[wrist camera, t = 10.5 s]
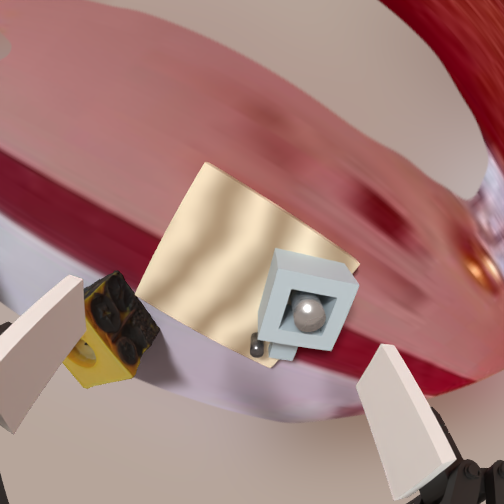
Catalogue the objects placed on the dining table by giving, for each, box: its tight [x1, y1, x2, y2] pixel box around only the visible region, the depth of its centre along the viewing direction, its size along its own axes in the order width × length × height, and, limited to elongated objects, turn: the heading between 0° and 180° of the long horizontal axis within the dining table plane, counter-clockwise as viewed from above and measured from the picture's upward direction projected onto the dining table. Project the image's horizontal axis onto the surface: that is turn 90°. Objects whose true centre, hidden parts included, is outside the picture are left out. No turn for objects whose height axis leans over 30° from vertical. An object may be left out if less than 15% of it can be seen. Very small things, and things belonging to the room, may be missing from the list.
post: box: [289, 289, 326, 332], centre depth 29 cm, size 3×3×6 cm
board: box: [135, 162, 360, 368], centre depth 33 cm, size 20×18×2 cm
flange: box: [258, 248, 359, 361], centre depth 30 cm, size 13×8×6 cm, turn 167°
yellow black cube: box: [62, 271, 160, 389], centre depth 31 cm, size 10×10×10 cm
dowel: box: [250, 332, 264, 358], centre depth 33 cm, size 2×2×3 cm
